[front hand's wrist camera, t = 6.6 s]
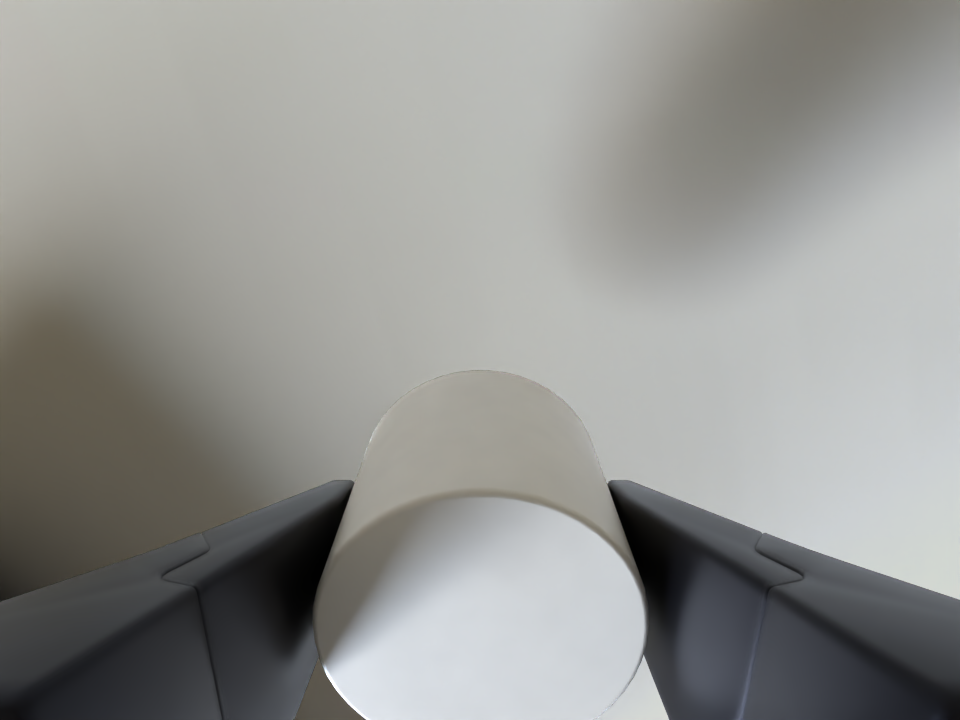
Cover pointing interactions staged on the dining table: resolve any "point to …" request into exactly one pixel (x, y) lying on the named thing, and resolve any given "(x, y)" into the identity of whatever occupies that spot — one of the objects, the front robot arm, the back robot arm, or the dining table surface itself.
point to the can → (480, 563)
